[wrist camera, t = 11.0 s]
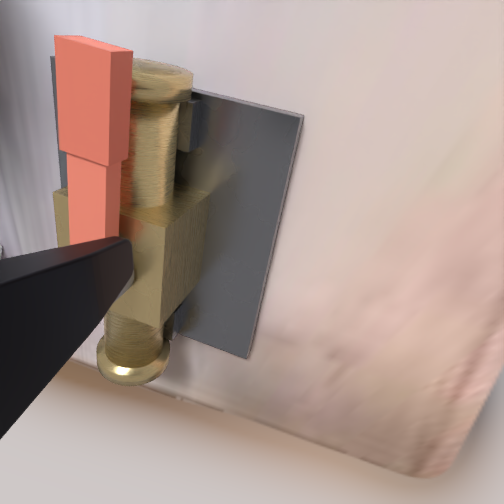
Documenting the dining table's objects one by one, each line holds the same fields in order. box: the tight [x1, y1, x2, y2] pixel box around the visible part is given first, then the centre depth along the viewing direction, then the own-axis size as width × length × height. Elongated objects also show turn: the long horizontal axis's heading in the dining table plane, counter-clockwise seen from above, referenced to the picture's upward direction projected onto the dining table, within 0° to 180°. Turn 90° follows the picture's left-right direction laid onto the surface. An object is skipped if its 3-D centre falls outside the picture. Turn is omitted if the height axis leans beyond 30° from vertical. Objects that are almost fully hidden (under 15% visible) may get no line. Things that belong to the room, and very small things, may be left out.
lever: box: [54, 35, 134, 302], centre depth 17 cm, size 12×3×2 cm, turn 168°
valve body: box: [50, 56, 304, 386], centre depth 22 cm, size 18×14×6 cm
